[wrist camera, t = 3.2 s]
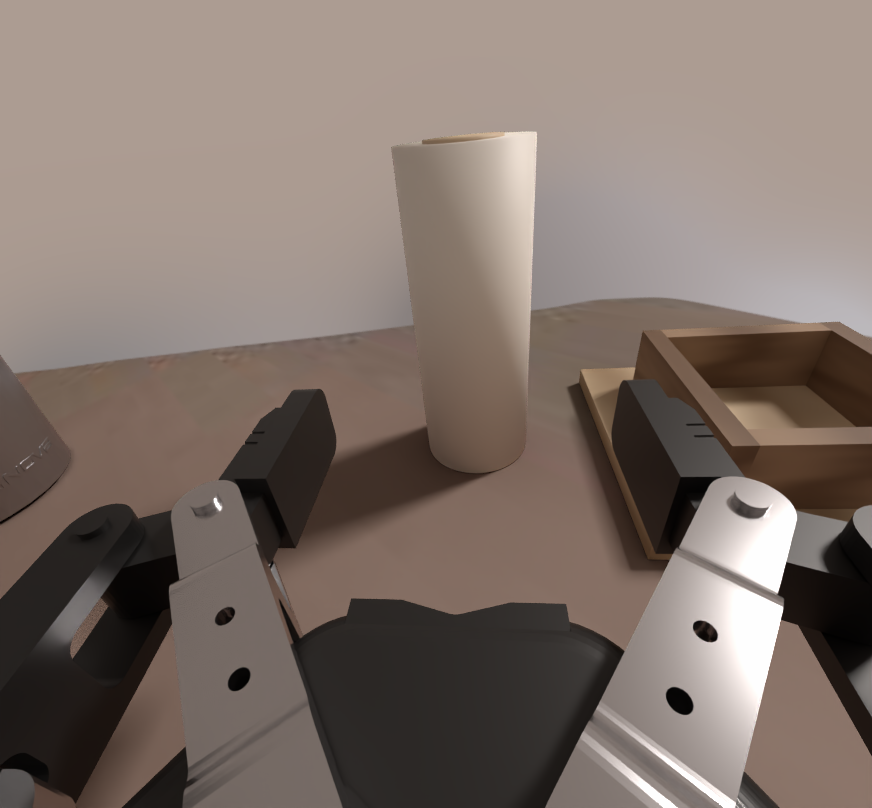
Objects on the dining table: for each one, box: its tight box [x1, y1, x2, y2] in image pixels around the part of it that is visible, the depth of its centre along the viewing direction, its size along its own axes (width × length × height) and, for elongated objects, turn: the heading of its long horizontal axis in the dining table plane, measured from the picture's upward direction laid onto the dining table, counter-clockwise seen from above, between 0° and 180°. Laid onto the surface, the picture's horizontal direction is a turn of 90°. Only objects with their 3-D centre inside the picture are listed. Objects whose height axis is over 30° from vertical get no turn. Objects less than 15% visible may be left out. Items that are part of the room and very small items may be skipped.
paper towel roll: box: [391, 132, 537, 473], centre depth 21 cm, size 6×6×15 cm
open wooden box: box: [579, 322, 872, 560], centre depth 21 cm, size 16×14×4 cm
